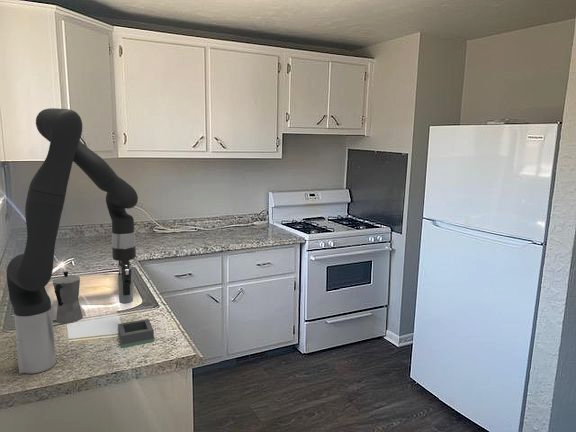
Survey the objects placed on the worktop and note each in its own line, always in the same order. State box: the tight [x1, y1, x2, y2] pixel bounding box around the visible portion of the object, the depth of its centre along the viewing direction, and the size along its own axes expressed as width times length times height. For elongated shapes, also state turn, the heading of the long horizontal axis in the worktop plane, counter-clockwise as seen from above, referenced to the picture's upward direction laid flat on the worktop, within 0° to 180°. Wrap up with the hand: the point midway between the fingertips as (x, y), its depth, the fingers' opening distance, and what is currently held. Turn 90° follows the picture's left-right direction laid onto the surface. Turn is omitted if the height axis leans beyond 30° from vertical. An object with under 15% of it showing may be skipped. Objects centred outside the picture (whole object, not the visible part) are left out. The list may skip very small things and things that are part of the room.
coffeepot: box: [52, 270, 83, 324], centre depth 156 cm, size 15×9×18 cm, turn 6°
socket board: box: [117, 318, 155, 348], centre depth 143 cm, size 10×10×4 cm
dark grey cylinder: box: [117, 271, 134, 305], centre depth 150 cm, size 4×4×10 cm
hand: (125, 292), depth 150 cm, fingers closed on dark grey cylinder, 4 cm apart
